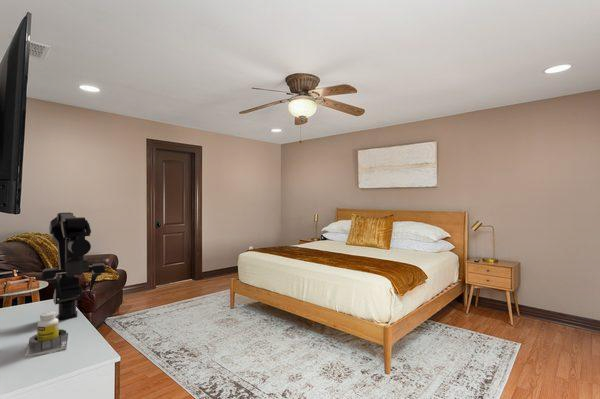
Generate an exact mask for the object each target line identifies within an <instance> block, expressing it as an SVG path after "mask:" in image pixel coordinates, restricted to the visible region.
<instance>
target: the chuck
mask: <svg viewBox="0 0 600 399" xmlns="http://www.w3.org/2000/svg"><path fill="white" fill-rule="evenodd" d="M68 340H69V332H67V330H65V329H59V336H58V337H55V338H53V339H49V340H44V341H38V338H37V333H35V334H34V335H32V336H30V337H29V338H28V348H27V350H26V352H25V356H24V357H25V359H28V358H33V357H36V356H42V355H46V353H47V354H51V353H54V351H56V352H59V351H58V350H60V351H64V350H63V349H65V350H67V347H68ZM50 352H51V353H50Z"/></svg>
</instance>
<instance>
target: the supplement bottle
mask: <svg viewBox="0 0 600 399" xmlns="http://www.w3.org/2000/svg"><path fill="white" fill-rule="evenodd" d="M56 315H57V313H56V311H53V310H52V311H51V310H50V311H46V312H42V313H41V314H40V315H39V319H40V321H38V322H37V327H36V328H37V333H36V334H37V338H38V341H44V340H49V339H53V338H55V337H58V336H59V328H60V327H59V320H58V319H57V316H56Z"/></svg>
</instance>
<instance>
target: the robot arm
mask: <svg viewBox="0 0 600 399" xmlns="http://www.w3.org/2000/svg"><path fill="white" fill-rule="evenodd" d="M49 222H50V223H49V228H48V229H49V230H48V231H49V232H48V233H49V235H50V236H51V240H52V241H53V242H54V243H55V244H56V245H57V255H58V256H57V257H58V267H59V268H58V267H46V268H44V269H43V270H42V272H41V280H46V282H50V283H51V284H52V285H53V287H54V288H55V289H54V292H53V296H52V299H53V303H54V305H58V313H57V316H56V318H57V319H58V321H59V320H65V319H71V318H77V317H78V310H77V301H81V300H82V298H83V290H84V289H83V287H82V285H81V284H80V279H79V278H78V277H79V276H82V275H84V273H89V272H91V276H90V280H89V281H90V282H89V293H91V292H92V290H93V287H94V285H95V283H96V280H97V278H98V276H101V275H102V274H104V273H106V265H105V263H104V262H98V263H92V265H91V266H90V260H89V259H88V260H87V259H86V260H85V255H86V254H88V253H89V252H90V250H91V248H92V244H91V243H90V241H89V240H88V239H86V237H91V233H92V230H91V227H90V223H89V222H88V220H87V219H86V217H76V216H75V215H74V213H73V212H70V211H69V212H58V213H57V214H56V217H54V218H52V220H50V221H49ZM77 276H78V277H77Z"/></svg>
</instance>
